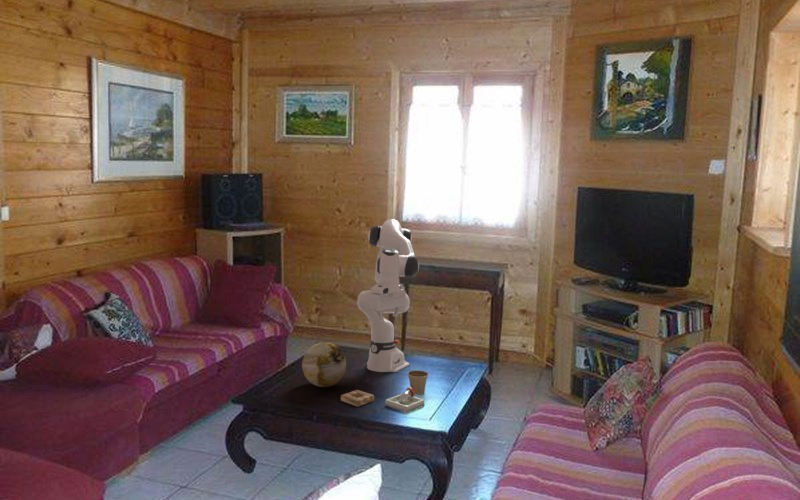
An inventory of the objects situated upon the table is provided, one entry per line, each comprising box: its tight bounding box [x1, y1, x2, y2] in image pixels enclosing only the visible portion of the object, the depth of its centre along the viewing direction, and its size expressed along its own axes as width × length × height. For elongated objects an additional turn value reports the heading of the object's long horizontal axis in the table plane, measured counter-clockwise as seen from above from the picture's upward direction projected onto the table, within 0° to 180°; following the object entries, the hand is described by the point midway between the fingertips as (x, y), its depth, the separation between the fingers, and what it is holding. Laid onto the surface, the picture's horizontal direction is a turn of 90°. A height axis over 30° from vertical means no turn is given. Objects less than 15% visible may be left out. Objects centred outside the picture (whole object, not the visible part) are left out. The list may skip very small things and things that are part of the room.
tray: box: [384, 393, 425, 413], centre depth 285 cm, size 12×12×2 cm
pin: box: [397, 386, 416, 404], centre depth 286 cm, size 4×4×8 cm
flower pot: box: [407, 369, 429, 395], centre depth 302 cm, size 9×9×9 cm
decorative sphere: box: [301, 341, 347, 388], centre depth 305 cm, size 20×20×20 cm
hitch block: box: [340, 389, 375, 407], centre depth 289 cm, size 10×10×2 cm
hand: (388, 318), depth 297 cm, fingers open, 8 cm apart
